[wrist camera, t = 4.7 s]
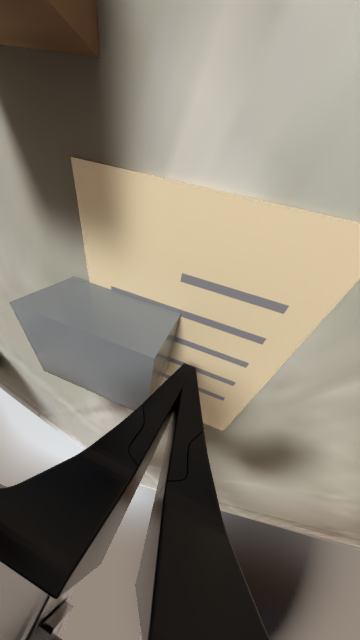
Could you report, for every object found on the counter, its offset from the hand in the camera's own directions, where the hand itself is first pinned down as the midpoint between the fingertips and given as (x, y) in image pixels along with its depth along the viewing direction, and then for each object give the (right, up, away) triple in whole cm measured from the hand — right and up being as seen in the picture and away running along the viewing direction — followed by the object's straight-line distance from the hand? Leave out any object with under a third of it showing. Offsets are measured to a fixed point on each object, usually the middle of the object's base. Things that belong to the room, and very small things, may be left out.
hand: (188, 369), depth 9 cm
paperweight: (-4, +2, +2) cm, 5 cm away
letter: (-1, +1, +1) cm, 2 cm away
